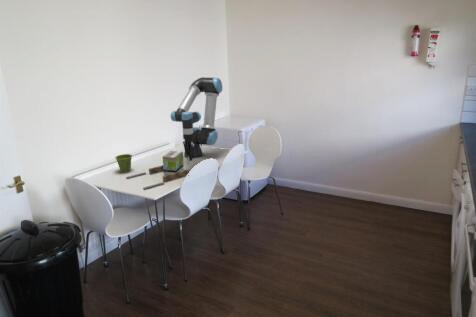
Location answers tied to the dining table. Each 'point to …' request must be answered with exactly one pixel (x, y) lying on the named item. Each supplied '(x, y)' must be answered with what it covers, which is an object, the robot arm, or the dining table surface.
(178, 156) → the tea box
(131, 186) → the dining table surface
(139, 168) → the dining table surface
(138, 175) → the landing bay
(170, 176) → the walnut chute
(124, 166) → the plant pot
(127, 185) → the dining table surface
